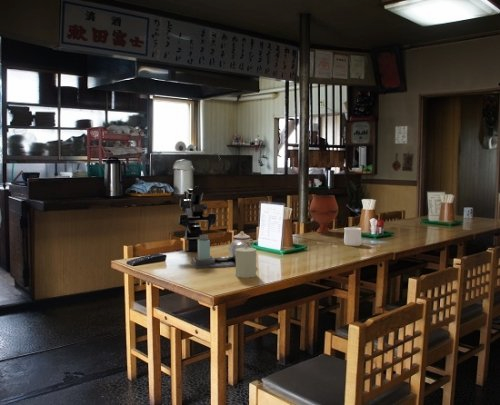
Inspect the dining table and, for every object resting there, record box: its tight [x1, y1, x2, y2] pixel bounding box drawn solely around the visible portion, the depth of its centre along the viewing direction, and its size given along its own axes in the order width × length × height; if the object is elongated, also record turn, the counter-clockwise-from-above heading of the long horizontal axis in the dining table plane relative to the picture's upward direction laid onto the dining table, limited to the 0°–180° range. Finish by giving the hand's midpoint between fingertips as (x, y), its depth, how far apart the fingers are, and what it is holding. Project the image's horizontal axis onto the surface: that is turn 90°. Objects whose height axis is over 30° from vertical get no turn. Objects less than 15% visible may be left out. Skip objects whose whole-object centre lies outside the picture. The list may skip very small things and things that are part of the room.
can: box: [234, 247, 257, 279], centre depth 212 cm, size 9×9×12 cm
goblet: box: [309, 194, 339, 234], centre depth 330 cm, size 19×19×25 cm
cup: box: [343, 226, 362, 247], centre depth 284 cm, size 10×10×10 cm
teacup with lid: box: [233, 231, 254, 248], centre depth 260 cm, size 12×9×12 cm
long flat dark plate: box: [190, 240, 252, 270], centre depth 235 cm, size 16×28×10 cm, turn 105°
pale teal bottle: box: [197, 234, 211, 260], centre depth 232 cm, size 5×5×13 cm
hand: (199, 232), depth 244 cm, fingers open, 9 cm apart
